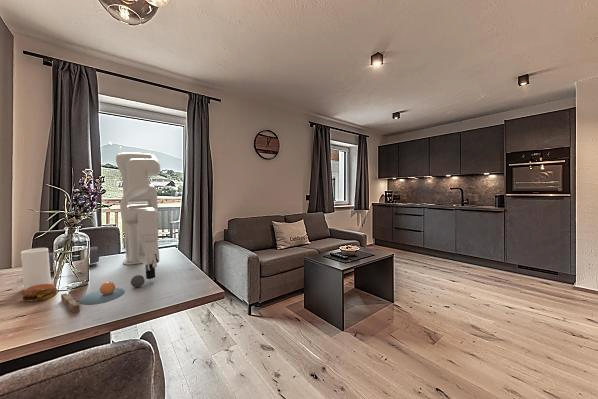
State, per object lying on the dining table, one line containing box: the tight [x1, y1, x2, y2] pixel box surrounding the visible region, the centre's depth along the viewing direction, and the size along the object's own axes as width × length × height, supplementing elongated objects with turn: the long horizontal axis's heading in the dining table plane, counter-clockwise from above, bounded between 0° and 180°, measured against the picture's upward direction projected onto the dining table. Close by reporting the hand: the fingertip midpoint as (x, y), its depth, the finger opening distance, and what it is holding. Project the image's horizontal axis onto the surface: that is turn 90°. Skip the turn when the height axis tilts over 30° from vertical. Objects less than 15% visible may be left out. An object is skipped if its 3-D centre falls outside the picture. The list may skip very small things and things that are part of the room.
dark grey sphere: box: [130, 274, 146, 288], centre depth 112 cm, size 5×5×5 cm
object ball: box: [99, 281, 116, 295], centre depth 105 cm, size 5×5×5 cm
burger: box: [22, 283, 58, 303], centre depth 103 cm, size 10×9×5 cm
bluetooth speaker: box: [48, 246, 100, 272], centre depth 136 cm, size 23×9×10 cm, turn 134°
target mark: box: [79, 287, 125, 305], centre depth 104 cm, size 14×14×1 cm
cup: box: [20, 247, 52, 291], centre depth 113 cm, size 8×8×16 cm
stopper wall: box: [60, 292, 81, 314], centre depth 96 cm, size 16×2×2 cm, turn 54°
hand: (150, 278), depth 118 cm, fingers closed
